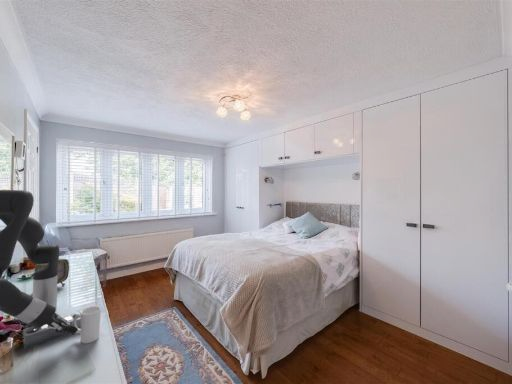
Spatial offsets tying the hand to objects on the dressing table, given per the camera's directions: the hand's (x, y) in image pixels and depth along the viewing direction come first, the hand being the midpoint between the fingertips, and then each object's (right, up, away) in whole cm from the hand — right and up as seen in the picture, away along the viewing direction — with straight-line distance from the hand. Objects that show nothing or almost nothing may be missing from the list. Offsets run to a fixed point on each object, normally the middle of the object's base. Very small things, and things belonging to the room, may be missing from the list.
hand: (75, 331), depth 94 cm
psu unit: (-12, -4, +5) cm, 14 cm away
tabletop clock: (-53, -3, +48) cm, 71 cm away
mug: (+2, -5, +3) cm, 6 cm away
